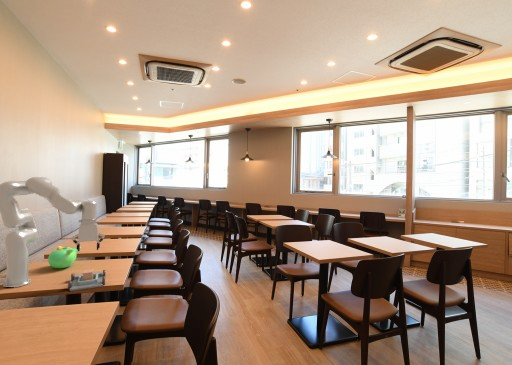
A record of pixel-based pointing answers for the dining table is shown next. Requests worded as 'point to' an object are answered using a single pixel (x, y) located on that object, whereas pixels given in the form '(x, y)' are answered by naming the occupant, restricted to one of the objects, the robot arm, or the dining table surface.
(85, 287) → the chassis
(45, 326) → the dining table surface
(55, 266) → the toy bird
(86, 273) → the terracotta rectangular box
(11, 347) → the dining table surface
